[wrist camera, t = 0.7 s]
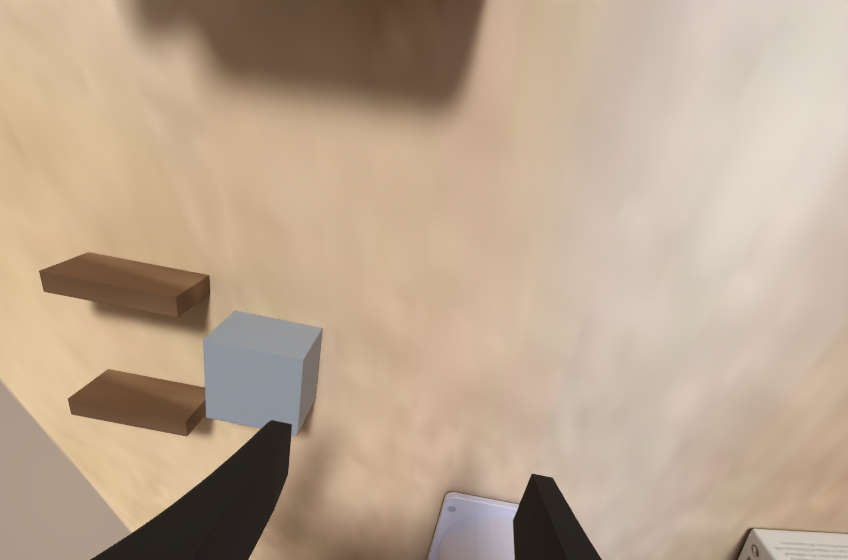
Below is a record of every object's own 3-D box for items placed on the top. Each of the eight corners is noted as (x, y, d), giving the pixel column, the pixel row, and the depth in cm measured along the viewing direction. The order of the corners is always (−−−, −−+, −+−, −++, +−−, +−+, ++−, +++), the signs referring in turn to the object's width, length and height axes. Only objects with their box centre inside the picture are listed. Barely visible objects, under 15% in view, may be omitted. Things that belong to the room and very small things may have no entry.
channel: (214, 403, 23) (186, 436, 20) (110, 383, 23) (71, 414, 20) (208, 275, 20) (175, 296, 17) (88, 252, 20) (39, 270, 17)
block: (316, 395, 22) (297, 435, 19) (237, 379, 22) (206, 417, 19) (323, 326, 20) (303, 359, 18) (237, 308, 20) (203, 339, 18)
